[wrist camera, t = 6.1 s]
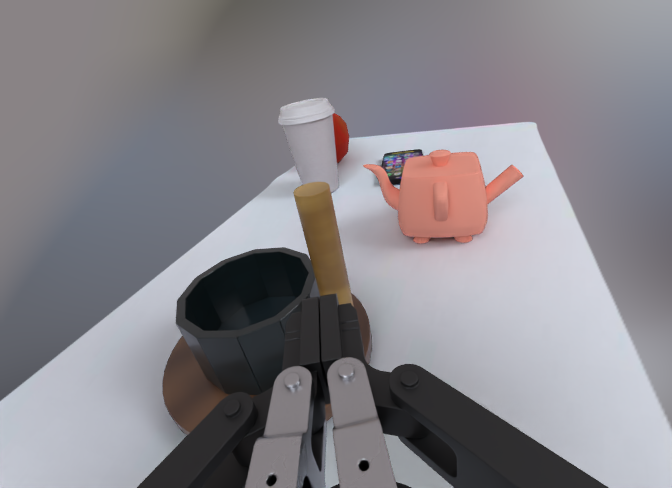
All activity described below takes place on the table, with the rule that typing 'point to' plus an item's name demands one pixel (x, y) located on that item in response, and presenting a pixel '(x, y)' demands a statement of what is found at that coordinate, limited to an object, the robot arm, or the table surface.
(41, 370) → the table surface
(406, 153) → the smartphone
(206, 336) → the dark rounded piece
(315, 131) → the coffee cup
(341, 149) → the apple
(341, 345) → the robot arm
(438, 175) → the teapot
